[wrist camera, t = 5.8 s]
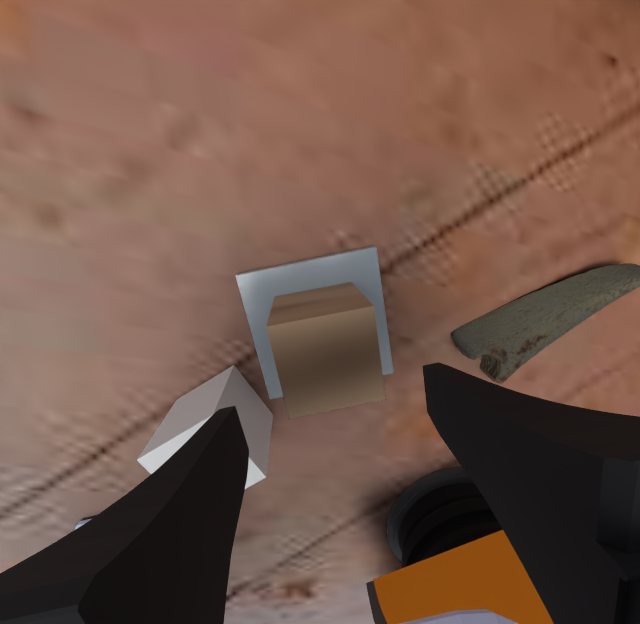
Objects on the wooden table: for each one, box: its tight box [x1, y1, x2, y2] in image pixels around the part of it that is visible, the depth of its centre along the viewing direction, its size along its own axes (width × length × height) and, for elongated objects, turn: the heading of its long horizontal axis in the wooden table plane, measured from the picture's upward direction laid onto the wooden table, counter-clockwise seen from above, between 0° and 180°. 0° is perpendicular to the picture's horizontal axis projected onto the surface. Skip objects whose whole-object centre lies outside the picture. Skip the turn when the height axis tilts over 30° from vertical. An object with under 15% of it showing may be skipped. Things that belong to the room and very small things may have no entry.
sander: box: [366, 467, 554, 624], centre depth 22 cm, size 15×25×13 cm, turn 113°
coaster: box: [236, 246, 394, 399], centre depth 21 cm, size 9×9×1 cm
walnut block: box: [266, 282, 386, 419], centre depth 18 cm, size 5×5×6 cm
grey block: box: [137, 365, 273, 489], centre depth 20 cm, size 5×5×6 cm
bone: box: [452, 263, 640, 383], centre depth 22 cm, size 13×5×4 cm, turn 118°
